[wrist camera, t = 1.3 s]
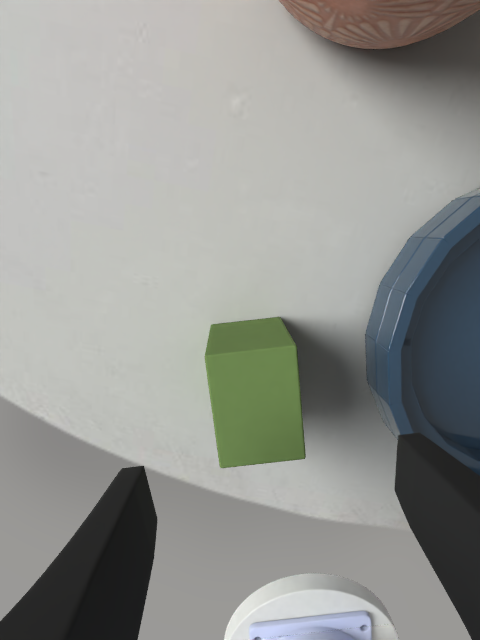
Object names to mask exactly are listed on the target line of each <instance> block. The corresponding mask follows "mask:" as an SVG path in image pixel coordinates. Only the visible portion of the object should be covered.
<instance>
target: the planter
mask: <svg viewBox="0 0 480 640" xmlns="http://www.w3.org/2000/svg"><path fill="white" fill-rule="evenodd" d="M279 1H280V2H281V3H282V4H283V6H284V7H285V8H286V9H287V10H288V11H289V12H290V13H291V14H292V15H293V16H294V17H295V18H296V19H297V20H298V21H299V22H301V23H302V24H303V25H305V26H306V27H307V28H309V29H310V30H312V31H313V32H315V33H317V34H319V35H320V36H322V37H324V38H326V39H329V40H331V41H333V42H336V43H339V44H343V45H346V46H350V47H357V48H363V49H388V48H396V47H400V46H405V45H409V44H412V43H415V42H418V41H421V40H424V39H427V38H429V37H432V36H434V35H436V34H438V33H441V32H443V31H445V30H447V29H449V28H451V27H452V26H454V25H456V24H457V23H459V22H461V21H463V20H464V19H466V18H467V17H469V16H471V15H472V14H474V13H475V12H477V11H479V10H480V0H279Z"/></svg>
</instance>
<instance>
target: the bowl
mask: <svg viewBox="0 0 480 640" xmlns="http://www.w3.org/2000/svg"><path fill="white" fill-rule="evenodd" d="M365 343H366V371H367V381H368V385H369V387H370V390H371V392H372V395H373V397H374V400H375V402H376V405H377V407H378V410H379V412H380V415H381V417H382V420H383V422H384V423H385V425H386V426H387V427H388V428H389V430H390V431H391V432H392V433H393V435H394V436H395V437H396V438H397V440H398V435H403V434H412V433H421V434H423V435H424V436H425V437H427V438H428V439H430V440H431V441H432V442H434V443H435V444H437V445H438V446H439V447H441V448H442V449H443V450H445V451H446V452H447V453H449V454H450V455H452V456H453V457H454V458H456V459H457V460H458V461H460V462H461V463H463V464H464V465H465V466H467V467H468V468H470V469H471V470H472V471H474V472H475V473H477V474H478V475H480V188H478V189H476V190H474V191H471V192H469V193H467V194H465V195H462V196H460V197H458V198H456V199H455V200H453V201H451V202H450V203H449V204H448V205H447V206H446V207H444V208H443V209H442V210H441V211H440V212H439V213H437V214H436V215H435V216H434V217H433V218H432V219H431V220H429V221H428V222H427V223H426V224H425V225H424V226H422V227H421V228H420V229H419V230H418V231H417V232H415V233H414V234H413V235H412V236H411V238H409V240H408V241H407V243H406V244H405V246H404V247H403V249H402V250H401V252H400V253H399V255H398V256H397V258H396V260H395V261H394V263H393V264H392V266H391V267H390V269H389V270H388V272H387V273H386V275H385V276H384V278H383V280H382V281H381V283H380V285H379V288H378V292H377V295H376V299H375V302H374V306H373V309H372V313H371V316H370V319H369V323H368V326H367V330H366V334H365Z"/></svg>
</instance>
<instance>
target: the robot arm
mask: <svg viewBox="0 0 480 640" xmlns="http://www.w3.org/2000/svg"><path fill="white" fill-rule="evenodd" d="M395 492H396V495H397V497H398V500H399V502H400V505H401V507H402V509H403V512H404V514H405V516H406V519H407V521H408V523H409V526H410V528H411V529H412V531H413V533H414V535H415V537H416V538H417V540H418V542H419V544H420V546H421V547H422V549H423V551H424V553H425V555H426V557H427V558H428V560H429V561H430V564H431V565H432V567H433V569H434V571H435V573H436V574H437V576H438V578H439V580H440V581H441V583H442V585H443V587H444V589H445V590H446V592H447V594H448V596H449V597H450V599H451V601H452V603H453V605H454V606H455V608H456V610H457V612H458V613H459V615H460V617H461V619H462V621H463V623H464V625H465V627H466V629H467V631H468V633H469V635H470V636H471V639H472V640H480V475H478V474H477V473H475V472H474V471H472V470H471V469H470V468H468V467H467V466H465V465H464V464H463V463H461V462H460V461H458V460H457V459H456V458H454V457H453V456H452V455H450V454H449V453H447V452H446V451H445V450H443V449H442V448H441V447H439V446H438V445H437V444H435V443H434V442H432V441H431V440H430V439H428V438H427V437H425V436H424V435H423V434H421V433H412V434H403V435H398V446H397V461H396V477H395ZM156 530H157V516H156V512H155V508H154V504H153V500H152V496H151V492H150V488H149V485H148V480H147V476H146V473H145V469H144V466H138V467H130V468H122V469H121V471H120V472H119V473H118V475H117V476H116V477H115V479H114V480H113V482H112V483H111V484H110V486H109V487H108V489H107V490H106V492H105V493H104V495H103V496H102V497H101V499H100V500H99V502H98V503H97V504H96V506H95V507H94V509H93V510H92V512H91V513H90V514H89V515H88V517H87V518H86V520H85V521H84V522H83V524H82V525H81V526H80V528H79V529H78V530H77V532H76V533H75V535H74V536H73V537H72V538H71V540H70V541H69V542H68V543H67V545H66V546H65V547H64V549H63V550H62V551H61V553H59V555H58V556H57V557H56V559H55V560H54V561H53V562H52V563H51V565H50V566H49V567H48V568H47V570H46V571H45V572H44V573H43V574H42V576H41V577H40V578H39V579H38V580H37V581H36V583H35V584H34V585H33V586H32V587H31V588H30V590H29V591H28V592H27V593H26V594H25V595H24V596H23V597H22V599H21V600H20V601H19V602H18V603H17V604H16V605H15V606H14V607H13V608H12V610H11V611H10V612H9V613H8V614H7V615H6V616H5V617H4V618H3V619H2V620H1V621H0V640H137V639H138V634H139V629H140V624H141V620H142V615H143V610H144V605H145V600H146V595H147V590H148V585H149V580H150V575H151V570H152V565H153V559H154V550H155V541H156ZM249 637H250V640H372V625H371V618H370V615H369V613H368V612H366V611H354V612H345V613H336V614H327V615H318V616H309V617H301V618H292V619H283V620H274V621H265V622H256V623H253V624H251V625H250V627H249Z"/></svg>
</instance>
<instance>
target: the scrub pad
mask: <svg viewBox="0 0 480 640" xmlns="http://www.w3.org/2000/svg"><path fill="white" fill-rule="evenodd" d="M205 363H206V370H207V378H208V385H209V392H210V399H211V406H212V414H213V421H214V428H215V435H216V442H217V450H218V457H219V464H220V467H221V468H228V467H237V466H246V465H254V464H263V463H272V462H281V461H290V460H299V459H305V457H306V455H305V443H304V430H303V418H302V405H301V392H300V380H299V367H298V355H297V346H296V344H295V342H294V341H293V339H292V337H291V335H290V334H289V332H288V330H287V328H286V327H285V325H284V323H283V321H282V320H281V318H280V317H275V318H266V319H257V320H248V321H239V322H231V323H222V324H213V325H211V328H210V333H209V338H208V343H207V348H206V353H205Z"/></svg>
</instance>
